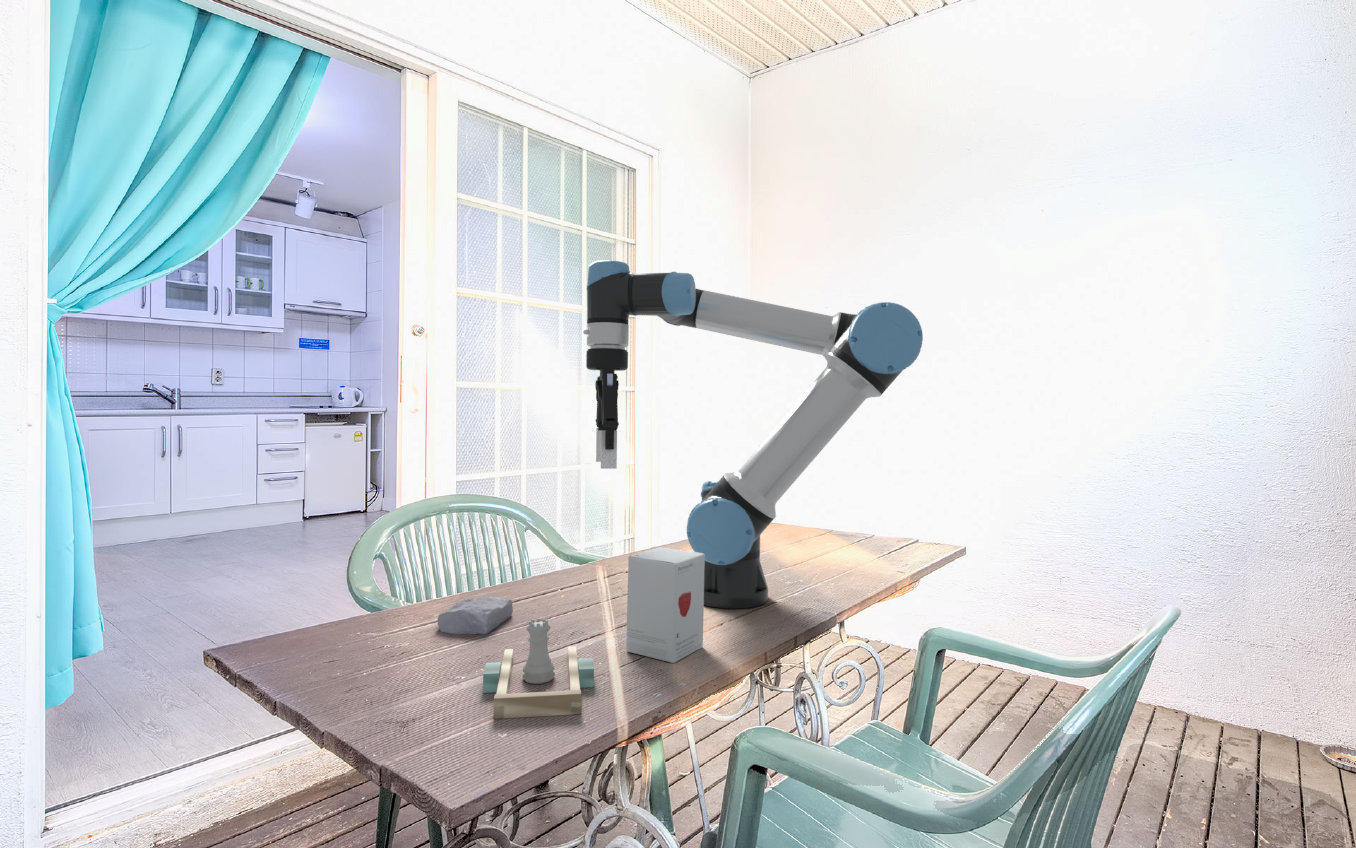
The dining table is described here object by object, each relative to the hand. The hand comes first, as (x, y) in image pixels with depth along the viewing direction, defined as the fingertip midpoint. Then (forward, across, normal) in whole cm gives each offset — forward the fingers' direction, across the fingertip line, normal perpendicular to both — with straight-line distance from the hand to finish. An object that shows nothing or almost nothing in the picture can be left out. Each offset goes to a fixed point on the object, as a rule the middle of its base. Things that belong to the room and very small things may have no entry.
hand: (605, 465), depth 129 cm
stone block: (+27, +5, -23) cm, 36 cm away
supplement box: (+27, +22, +8) cm, 36 cm away
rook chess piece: (+27, +31, -11) cm, 43 cm away
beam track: (+27, +33, -11) cm, 44 cm away
